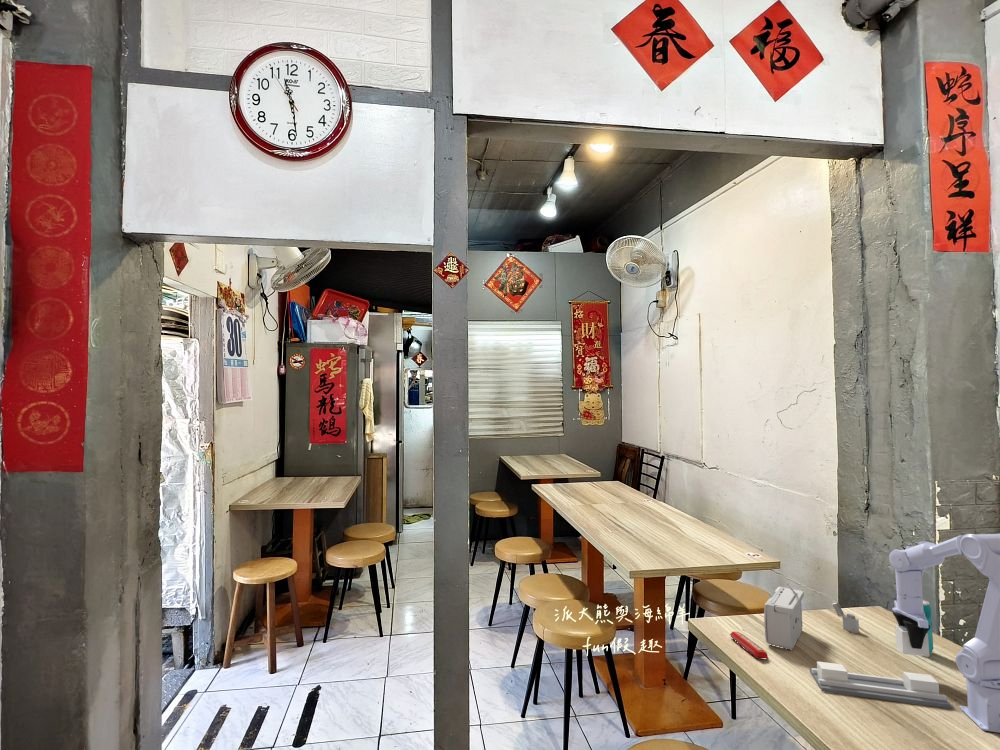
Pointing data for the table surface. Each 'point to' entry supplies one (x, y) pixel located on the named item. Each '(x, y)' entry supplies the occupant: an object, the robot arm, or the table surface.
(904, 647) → the module block
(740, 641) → the red long bar
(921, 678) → the block
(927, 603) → the beverage can
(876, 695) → the rail
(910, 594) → the robot arm
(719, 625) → the table surface
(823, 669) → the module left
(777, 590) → the stereo radio cassette player
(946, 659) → the table surface
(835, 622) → the table surface
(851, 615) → the lighter
